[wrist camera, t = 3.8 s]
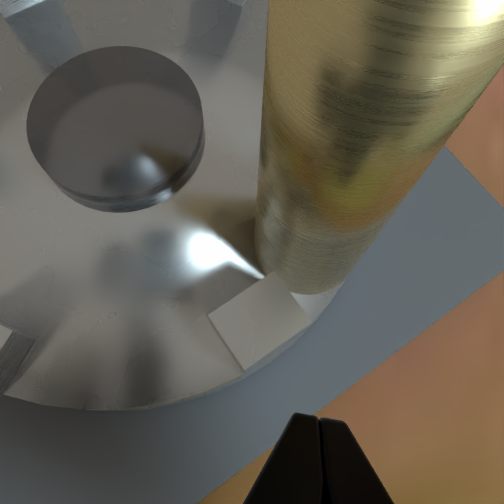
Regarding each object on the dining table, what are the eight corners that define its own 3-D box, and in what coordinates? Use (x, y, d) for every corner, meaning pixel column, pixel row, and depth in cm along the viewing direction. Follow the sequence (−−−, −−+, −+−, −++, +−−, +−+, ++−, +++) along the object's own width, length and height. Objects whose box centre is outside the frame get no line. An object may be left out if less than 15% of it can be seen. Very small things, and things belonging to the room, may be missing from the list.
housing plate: (514, 258, 18) (540, 242, 16) (30, 625, 14) (2, 651, 12) (220, -64, 23) (218, -100, 22) (-195, 137, 19) (-235, 111, 18)
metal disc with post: (458, 228, 17) (961, -218, 5) (37, 530, 13) (-1350, 1283, 2) (205, -55, 21) (157, -658, 9) (-162, 123, 17) (-961, -459, 6)
